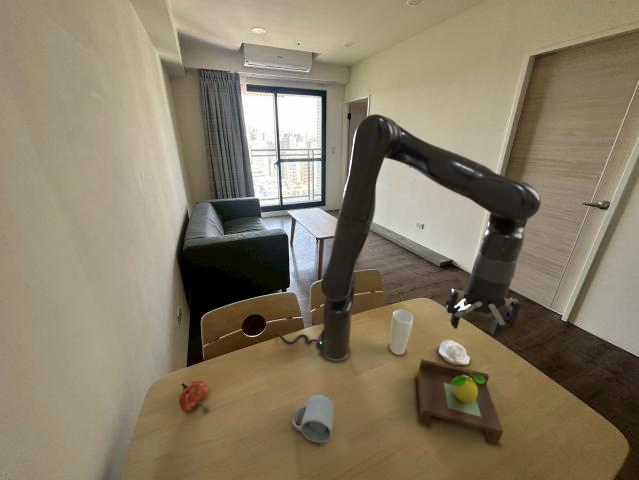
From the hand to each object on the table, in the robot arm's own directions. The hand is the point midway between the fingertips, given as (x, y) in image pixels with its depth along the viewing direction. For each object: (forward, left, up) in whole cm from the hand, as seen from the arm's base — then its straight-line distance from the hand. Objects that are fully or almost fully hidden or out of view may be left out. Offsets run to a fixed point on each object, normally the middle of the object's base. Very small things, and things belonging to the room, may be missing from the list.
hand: (473, 330), depth 62 cm
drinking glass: (-15, +15, -26) cm, 34 cm away
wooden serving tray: (0, -2, -26) cm, 26 cm away
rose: (+4, +18, -26) cm, 32 cm away
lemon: (+1, -3, -21) cm, 21 cm away
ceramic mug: (-36, -18, -26) cm, 48 cm away
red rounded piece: (-69, -22, -26) cm, 77 cm away
